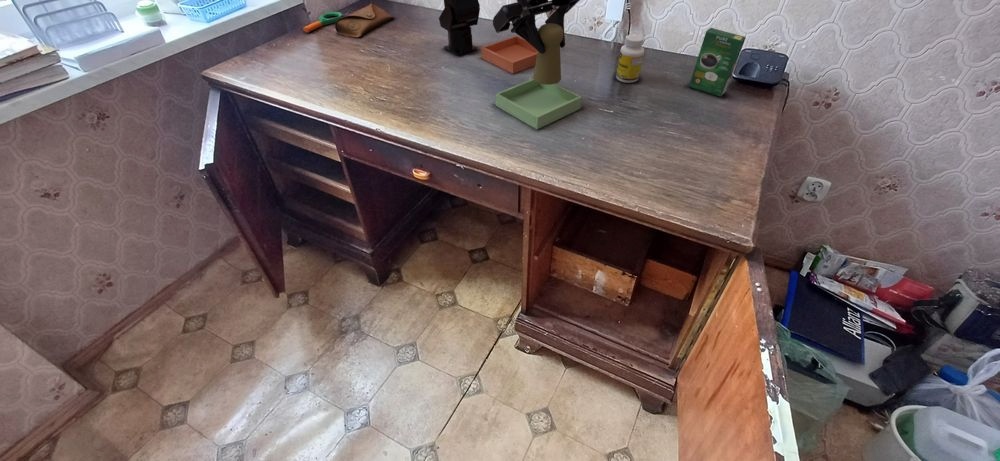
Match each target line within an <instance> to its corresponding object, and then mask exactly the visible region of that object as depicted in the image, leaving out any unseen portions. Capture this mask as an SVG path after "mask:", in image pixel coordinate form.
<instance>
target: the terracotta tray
mask: <svg viewBox="0 0 1000 461" xmlns="http://www.w3.org/2000/svg"><path fill="white" fill-rule="evenodd" d="M480 50H481V59H482V60H485V61H486V62H489V63H491V64H493V65H494V66H497V67H498V68H501V69H503V70H505V71H507V72H508V73H511V74H516V73H519V72H521V71H524V70H526V69H529V68H532V67H535V65H536V59H537V54H538V51H537V50H536V49H535V48H534V47H533V46H532V45H531V44H529V43H528V42H527V41H526V40H524V39H523V38H522V37H520V36H519V35H514V36H511V37H507V38H505V39H502V40H500V41H496V42H494V43H491V44H487V45H484V46H481V49H480Z"/></svg>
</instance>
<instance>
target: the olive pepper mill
mask: <svg viewBox="0 0 1000 461" xmlns="http://www.w3.org/2000/svg"><path fill="white" fill-rule="evenodd" d="M537 30H538V32H539V35H540V37H541V39H542V42H543V44H544V48H545V53H544V54H541V53H540V52H539V51H538V54H537V59H536V65H534V69H533V70H534V72H533V75H532V79H534V81H536V82H537V83H540V84H545V85H551V84H556V85H557V84H558V83H560V82H561V81H562V67H561V66H562V65H561V64H562V62H561V47H560V43H561V41H562V39H563V36H564V34H565V32H564V33H563V29H562V27H561V26H559V25H558V24H553V23H548V24H546V23H543V24H541V25H540V26H539V28H538V29H537Z"/></svg>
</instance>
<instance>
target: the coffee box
mask: <svg viewBox="0 0 1000 461" xmlns="http://www.w3.org/2000/svg"><path fill="white" fill-rule="evenodd" d="M746 38H747V37H746V36H743V35H740V34H736V33H733V32H728V31H725V30H721V29H717V28H713V27H710V28H708V29H707V30H706V31H705V34H704V37H703V40H702V43H701V46H700V49H699V51H698V52H699V53H698V56H697V59H696V61H695V64H694V68H693V71H692V75H691V78H690V81H689V83H688V87H689V88H692V89H694V90H698V91H700V92H701V91H702V92H704V93H707V94H711V95H713V96H717V97H719V98H722V97H723V95H725V93H726V92H727V91H726V90H727V88H728V86H729V83H730V81H731V78H732V75H733V73H734V69H735V67H736V64H737V62H738V59H739V56H740V55H741V52H742V49H743V46H744V44H745V41H746Z"/></svg>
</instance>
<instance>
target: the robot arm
mask: <svg viewBox="0 0 1000 461" xmlns="http://www.w3.org/2000/svg"><path fill="white" fill-rule="evenodd" d="M580 1H581V0H516V2H512V3H509V4H504V5H502V6H501V7H500V8H499V9H498V11H497V13H496V14H495V15H494V16H493V18H492V26H493V28H494V30H495V33H497V34H498V33H502V32H505V31H508V30H509V29H510V26H512V28H511V29H510V33H512V34H516V36H519V37H521V38H523V39H524V40H526V41H527V42H528V43H529V44H531V45H532V46H533V47H534V48H535V49H536V50H537V51H539V52H540V53H541V54H544V53H545V48H544V44H543V42H542V39H541V37H540V35H539V32H538V30H539V29H538V27H537V25H536V16H538V15H542V14H545V15H546V17H547V19H545V21H544V24H548V23H553V24H558V25H559V26H561V27H562V29H563V33H564V36H563V39H562V41H561V43H560V49H562V48H565V46H566V35H565V34H566V33H565V15H566V14H568V13H569V12H570V10H572V9H573V8H574V7H575V6H576V5H577V4H578V3H579V2H580ZM480 11H481V5H480V1H479V0H443V10H442V12H441V13H440V15H439V17H438V21H439V25H440V28H442V29H444V30H446V31H447V40H448V45H445V46H443V49H444V50H446V51H447V52H449V53H451V54H453V55H455V56H457V57H459V56H463V55H465V54H468V53H471V52H474V51H477V50H478V48H477V46H475V45H473V34H472V27H473V26H477V25H478V23H479V17H480Z"/></svg>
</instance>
